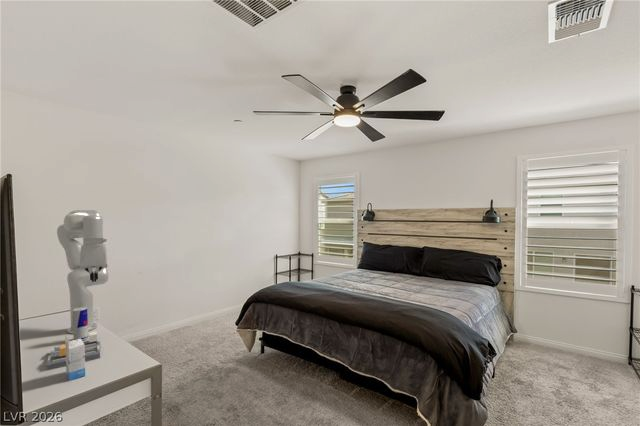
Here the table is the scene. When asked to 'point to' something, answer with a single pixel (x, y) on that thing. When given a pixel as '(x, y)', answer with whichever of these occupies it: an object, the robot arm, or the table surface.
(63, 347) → the block
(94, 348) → the console
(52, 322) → the table surface
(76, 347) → the ink box
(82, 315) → the beverage can
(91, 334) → the block
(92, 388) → the table surface
